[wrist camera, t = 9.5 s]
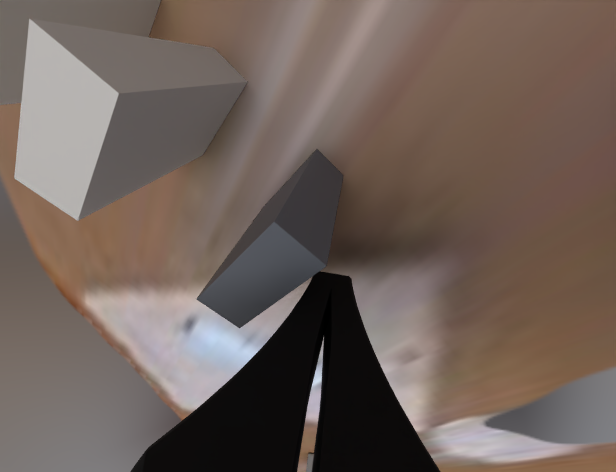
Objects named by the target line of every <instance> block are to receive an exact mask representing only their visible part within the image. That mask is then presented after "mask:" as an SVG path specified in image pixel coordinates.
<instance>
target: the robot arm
mask: <svg viewBox="0 0 616 472" xmlns="http://www.w3.org/2000/svg"><path fill="white" fill-rule="evenodd" d="M323 337H324V348H323V368H322V387H321V401H320V411H319V419H318V427H317V434H316V442H315V450H314V457H313V465H312V472H440V470H439V469H438V467H437V466H436V464H435V462H434V461H433V459H432V458H431V456H430V454H429V453H428V451H427V450H426V448H425V446H424V445H423V443H422V441H421V440H420V438H419V436H418V435H417V433H416V431H415V429H414V428H413V426H412V424H411V422H410V421H409V419H408V417H407V416H406V414H405V412H404V410H403V409H402V407H401V405H400V403H399V402H398V400H397V398H396V396H395V394H394V392H393V390H392V388H391V386H390V384H389V382H388V380H387V378H386V376H385V374H384V372H383V370H382V368H381V366H380V364H379V362H378V359H377V357H376V355H375V353H374V350H373V348H372V345H371V343H370V341H369V338H368V335H367V333H366V330H365V328H364V325H363V322H362V319H361V316H360V313H359V310H358V307H357V303H356V299H355V295H354V291H353V286H352V279H351V278H350V277H349V276H345V275H338V274H332V273H326V272H320V271H319V272H318V273H316V274H315V275H313V278H312V280H311V282H310V284H309V286H308V287H307V289H306V291H305V292H304V294H303V296H302V297H301V299H300V300H299V302H298V303H297V304H296V306H295V307H294V309H293V310H292V312H291V313H290V314H289V316H288V317H287V318H286V319H285V321H284V322H283V323H282V325H281V326H280V327H279V328H278V330H277V331H276V332H275V333H274V334H273V336H272V337H271V338H270V339H269V340H268V341H267V343H266V344H265V345H264V346H263V347H262V348H261V349H260V350H259V351H258V352H257V353H256V355H255V356H254V357H253V358H252V359H251V360H250V361H249V362H248V363H247V364H246V365H245V366H244V367H243V368H242V369H241V370H240V371H239V372H238V373H237V374H235V375H234V376H233V377H232V378H231V379H230V380H229V381H228V382H227V383H226V384H225V385H224V386H222V387H221V388H220V389H219V390H218V391H217V392H216V393H214V394H213V395H212V396H211V397H210V398H209V399H208V400H207V401H205V402H204V403H203V404H202V405H201V406H200V407H198V408H197V409H196V410H195V411H194V412H192V413H191V414H190V415H189V416H188V417H186V418H185V419H184V420H182V421H181V422H180V423H179V424H177V425H176V426H175V427H174V428H172V429H171V430H170V431H169V432H167V433H166V434H165V435H163V436H162V437H161V438H160V439H158V440H157V441H156V442H155V443H153V444H152V445H151V446H150V447H149V448H148V449H147V450H146V451H145V453H144V454H143V455H142V457H141V458H140V459H139V460H138V462H137V463H136V465H135V466H134V468H133V469H132V470H131V472H297V468H298V462H299V456H300V449H301V443H302V437H303V431H304V424H305V418H306V412H307V406H308V401H309V396H310V391H311V387H312V383H313V379H314V375H315V370H316V366H317V362H318V358H319V354H320V350H321V346H322V341H323Z"/></svg>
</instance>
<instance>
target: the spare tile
mask: <svg viewBox="0 0 616 472" xmlns="http://www.w3.org/2000/svg"><path fill="white" fill-rule="evenodd" d="M342 180H343V174H342V173H341V172H340V171H339V170H338V169H337V168H336V167H335V166H334V165H333V164H332V163H331V162H330V161H329V160H328V159H327V158H326V157H325V156H324V155H323V154H322V153H321V152H320V151H319V150H318V149H316V151H315V152H314V153H313V154H312V155H311V156H310V157H309V158H308V159H307V160H306V161H305V162H304V164H303V165H302V166H301V167H300V168H299V169H298V170H297V171H296V172H295V173H294V174H293V176H292V177H291V178H290V179H289V180H288V181H287V182H286V183H285V184H284V185H283V186H282V187H281V189H280V190H279V191H278V192H277V193H276V194H275V195H274V196H273V197H272V198H271V199H270V200H269V202H268V203H267V204H266V205H265V206H264V207H263V208H262V210H261V211H260V213H259V214H258V215H257V217H256V218H255V219H254V221H253V222H252V224H251V225H250V226H249V228H248V229H247V230H246V232H245V233H244V234H243V236H242V237H241V239H240V240H239V241H238V243H237V244H236V245H235V247H234V248H233V250H232V251H231V252H230V254H229V255H228V256H227V258H226V259H225V260H224V262H223V263H222V265H221V266H220V267H219V269H218V270H217V271H216V273H215V274H214V276H213V277H212V278H211V280H210V281H209V282H208V284H207V285H206V286H205V288H204V289H203V291H202V292H201V293H200V295H199V296H198V297H197V300H198V301H200V302H201V303H203V304H204V305H206V306H207V307H209V308H210V309H212V310H213V311H215V312H216V313H218V314H219V315H221V316H222V317H224V318H225V319H227V320H228V321H230V322H231V323H233V324H234V325H235V326H237V327H238V328H241V327H242V326H243V325H245V324H246V323H248V322H249V321H250V320H252V319H253V318H255V317H256V316H257V315H259V314H260V313H262V312H263V311H264V310H266V309H267V308H269V307H270V306H271V305H273V304H274V303H276V302H277V301H278V300H280V299H281V298H283V297H284V296H285V295H287V294H288V293H290V292H291V291H292V290H294V289H295V288H297V287H298V286H299V285H301V284H302V283H304V282H305V281H306V280H308V279H309V278H311V277H312V276H313V275H315V274H316V273H318V272H319V271H320V270H322V269H323V268H325V267H326V266H327V262H328V256H329V251H330V245H331V240H332V235H333V229H334V224H335V218H336V213H337V208H338V202H339V197H340V191H341V186H342Z"/></svg>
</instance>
